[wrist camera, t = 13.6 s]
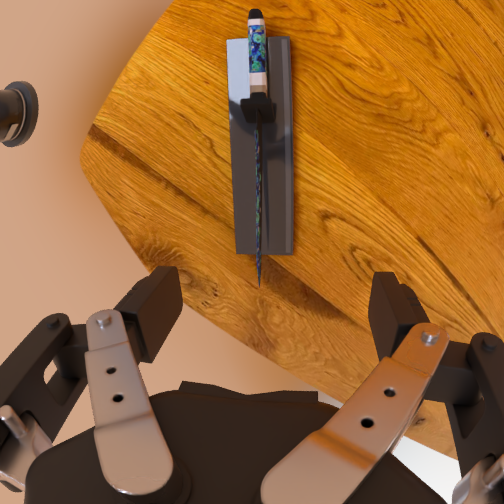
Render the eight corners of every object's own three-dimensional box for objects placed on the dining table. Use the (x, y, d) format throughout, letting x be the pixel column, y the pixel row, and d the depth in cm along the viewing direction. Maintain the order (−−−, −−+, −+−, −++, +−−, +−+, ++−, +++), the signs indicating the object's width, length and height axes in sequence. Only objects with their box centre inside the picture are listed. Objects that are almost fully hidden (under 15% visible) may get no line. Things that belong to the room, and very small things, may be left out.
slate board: (238, 249, 41) (236, 254, 39) (229, 42, 30) (226, 39, 29) (293, 250, 40) (293, 255, 38) (289, 39, 29) (289, 35, 28)
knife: (252, 22, 29) (245, 5, 25) (278, 22, 28) (275, 5, 24) (240, 276, 37) (232, 290, 33) (265, 279, 37) (260, 293, 33)
